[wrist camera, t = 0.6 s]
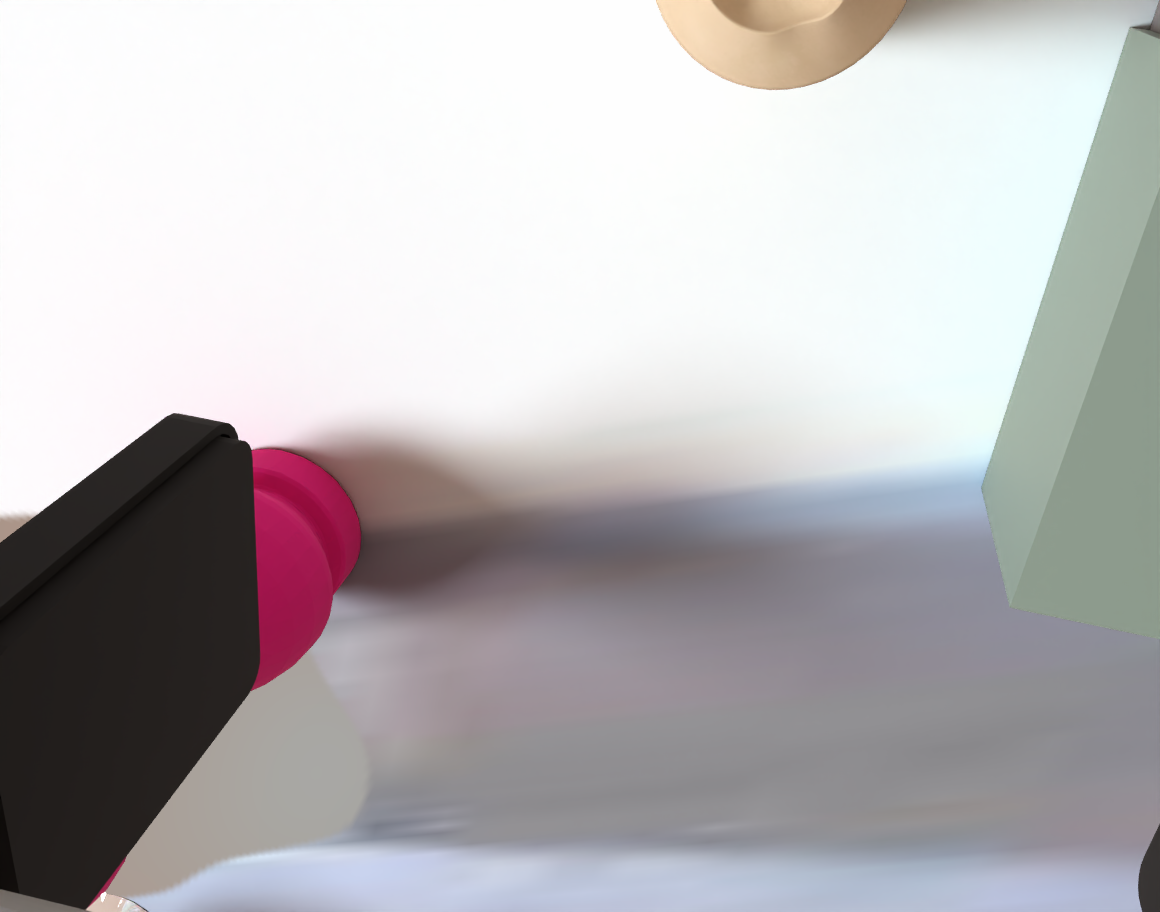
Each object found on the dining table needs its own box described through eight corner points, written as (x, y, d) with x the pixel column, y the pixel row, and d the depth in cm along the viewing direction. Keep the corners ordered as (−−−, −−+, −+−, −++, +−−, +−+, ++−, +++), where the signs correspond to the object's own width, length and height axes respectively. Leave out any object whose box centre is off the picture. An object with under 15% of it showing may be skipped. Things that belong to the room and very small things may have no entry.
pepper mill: (401, 492, 40) (61, 936, 23) (341, 631, 44) (5, 1110, 26) (224, 401, 40) (-253, 776, 23) (178, 548, 44) (-269, 972, 26)
